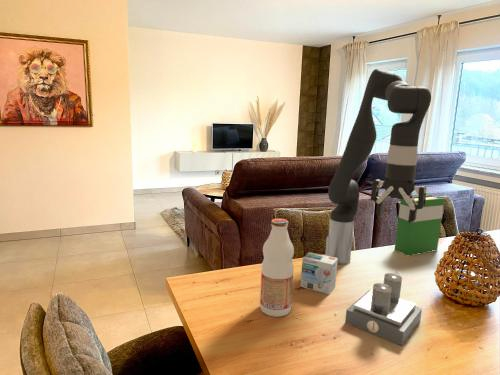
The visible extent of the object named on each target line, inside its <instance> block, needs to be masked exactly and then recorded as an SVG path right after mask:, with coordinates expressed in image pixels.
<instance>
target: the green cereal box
mask: <svg viewBox="0 0 500 375" xmlns="http://www.w3.org/2000/svg"><path fill="white" fill-rule="evenodd" d="M412 196H413V197H414V200H415V202H416V204H418V196H419V195H412ZM445 199H446V198H445V197H439V198H437V197H434V196H433V194H426V202H425V207H424V208H422V209H417V214H416V220H415V221H413V222H412V223H408V220H409V212H410V209H411V208H410V207H409V205H408V203H406V201H405V200H404V199H402V200H401V199H400V201H399V203H400V204H399V211H398V219H397V227H396V235H395V236H396V237H395V243H394V245H395V246H394V250H395V251H396V250H397V252H399V253H401V252H402V253H401V254H403V253H404V254H403V255H405V254H406V255H405V256H407V255H409V256H414V255H413V254H415V255H419V254H418V253H421V254H424V253H423V252H427V253H429V252H428V251H432V250H437V251H438V249H439V248H438V247H439V240H440V233H441V232H440V231H441V225H442V219H443V213H444V212H443V211H444V204H445ZM432 252H433V251H432Z"/></svg>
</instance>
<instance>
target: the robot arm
mask: <svg viewBox="0 0 500 375" xmlns="http://www.w3.org/2000/svg"><path fill="white" fill-rule="evenodd" d="M362 96H363V97H362V101H361V104H360V107H359V110H358V113H357V115H356V118H355V120H354V121H355V122H354V124H353V126H352V129H351V131H350V134H349V136H348V139H347V142H346V145H345V148H344V152H343V154H342V157H341V159H340V162H339V165H338V167H337V168H336V170H335V173H334V175H333V177H332V179H331V181H330V183H329V186H328V191H327V194H328V195H327V196H328V199H329V201H330V202H331V203H333V204H335V205H337V206H336V207H334V209H332V210H331V212H330V218H329V229H328V235H327V236H326V241H325V253H324V255H325V256H330V257H335V258H338V261H337V265H344V264H345V265H346V264H349V263H350V262H351V257H352V255H351V253H352V246H353V244H352V243H353V234H354V222H355V216H356V215H357V212H358V208H359V207H358V206H359V199H360V188H359V184H358V183H357V181H356V180H354V179H353V177H354V176H355V173H356V172H357V171H358V170H359V168H360V167H362V166H363V164H364V163H365V162H366V160H367V159H368V158H369V156H370V154H371V153H372V151H373V148H374V146H375V144H376V141H377V129H376V124H375V121H374V117H373V108H372V106H373V102H374V98H375V99H379V100H383V101H387V108H388V111H390V112H391V113H393V114H404V115H405V114H406V115H407V114H409V115H412V116H411V117H410V119H409V120H406V121H402V122H396V123H394V124H393V125H392V127H391V130H390V138H389V139H390V140H389V148H388V152H387V156H386V168H385V176H384V177H385V179H384V180H381V179H379V178H376V179H375V180H373V182H372V186H371V187H372V188H371V193H370V201H374V202H375V203H376V210H375V213H376V215H377V217H380V218H381V217H383V215H384V207H385V203H384V201H386V200H387V199H388V198H389V197H390V198H391V199H398V200H400V201H401V200H402V199H404V200H405V201H406V203H408V205H409V207H410V208H411V209H410V212H409V220H408V223H412V222H413V221H415V220H416V214H417V209H422V208H424V207H425V202H426V195H427V186H426V185H422V186H418V185H415V179H416V172H417V170H416V169H417V164H418V151H419V150H418V147H419V138H420V132H421V129H422V125H423V122H424V119H425V118H426V115H427V112H428V110H429V108H430V106H431V102H432V93H431V91H430V90H429V88H428V87H426V86H413V85H410V84H409V83H407V82H406V81H405V79H404V78H403V76H402V75H401V74H398V73H395V72H392V71H388V70H384V69H380V68H375V69H373V71H371V74H370V75H369V77H368V80H367V83H366V86H365V90H364V94H363V95H362ZM382 187H383V188H384V190H385V191H384V192H383V193H382V194H381V195H380V196H379V193H380V188H382ZM414 191H415V192H416V194H417V196H418V204H416V202H415V200H414V197H413V196H414V195H413V192H414Z"/></svg>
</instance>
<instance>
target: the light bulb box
mask: <svg viewBox="0 0 500 375" xmlns="http://www.w3.org/2000/svg"><path fill="white" fill-rule="evenodd" d="M301 261H302V262H301V277H300V287H301V288H305V289H308V290H312V291H316V292H319V293H322V294H326V295H331V293H332V292H333V291H334V289H335V288H336V284H337V283H336V282H337V271H338V264H337V261H338V258H335V257H330V256H325V254H322V253H321V254H320V253H314V252H311V251H308V252H307V253H306V254H305V255H304V256H303V257H302V259H301Z"/></svg>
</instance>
